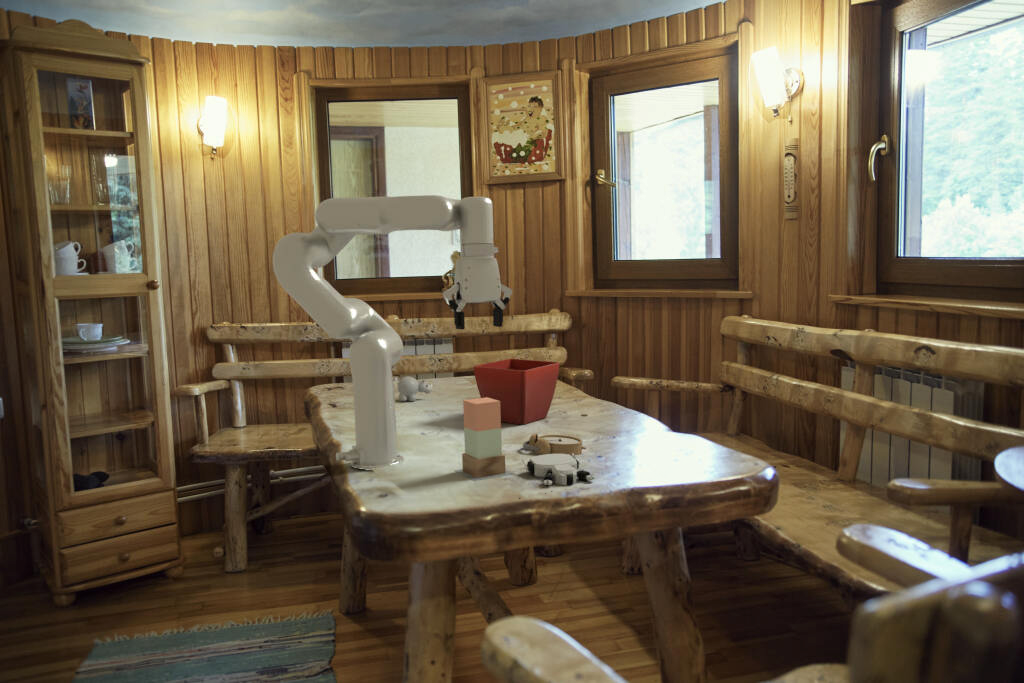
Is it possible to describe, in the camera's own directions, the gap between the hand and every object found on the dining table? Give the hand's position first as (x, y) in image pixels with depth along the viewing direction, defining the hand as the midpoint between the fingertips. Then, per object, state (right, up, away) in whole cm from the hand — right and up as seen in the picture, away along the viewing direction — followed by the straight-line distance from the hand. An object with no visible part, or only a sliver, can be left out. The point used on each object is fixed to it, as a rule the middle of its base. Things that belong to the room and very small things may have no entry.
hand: (479, 327), depth 180 cm
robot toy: (+17, -34, -10) cm, 39 cm away
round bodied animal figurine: (-26, -24, +94) cm, 100 cm away
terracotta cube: (+1, -22, -7) cm, 23 cm away
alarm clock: (+18, -31, +15) cm, 39 cm away
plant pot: (+9, -27, +56) cm, 63 cm away
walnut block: (+1, -32, -6) cm, 33 cm away
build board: (+1, -33, -6) cm, 34 cm away
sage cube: (+1, -28, -6) cm, 29 cm away
